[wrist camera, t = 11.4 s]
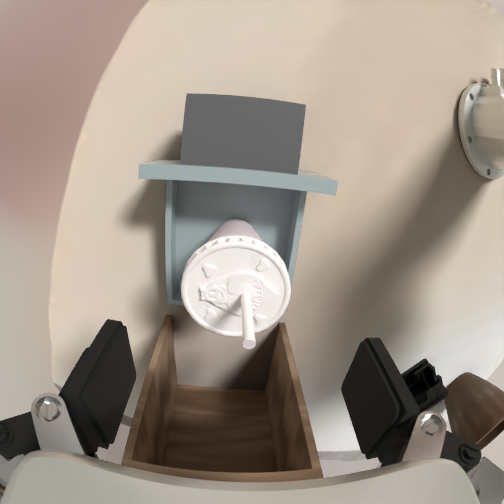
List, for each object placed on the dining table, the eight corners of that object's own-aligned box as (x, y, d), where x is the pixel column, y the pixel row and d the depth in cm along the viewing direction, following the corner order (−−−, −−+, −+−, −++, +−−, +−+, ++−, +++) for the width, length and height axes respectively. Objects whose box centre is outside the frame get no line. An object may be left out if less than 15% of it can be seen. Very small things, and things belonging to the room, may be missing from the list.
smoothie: (269, 272, 26) (298, 388, 13) (200, 271, 26) (173, 387, 13) (273, 204, 24) (320, 278, 11) (198, 202, 23) (154, 276, 10)
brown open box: (166, 314, 29) (119, 469, 12) (284, 322, 30) (323, 479, 13) (173, 386, 33) (153, 510, 16) (269, 392, 34) (286, 516, 17)
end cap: (385, 405, 39) (398, 434, 33) (375, 389, 37) (391, 420, 30) (432, 375, 37) (449, 400, 31) (428, 355, 35) (448, 382, 29)
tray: (166, 104, 21) (145, 93, 15) (321, 118, 22) (346, 112, 16) (160, 287, 27) (145, 321, 22) (293, 296, 28) (306, 332, 23)
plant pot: (488, 345, 37) (530, 393, 22) (476, 385, 42) (507, 429, 27) (433, 383, 38) (471, 444, 23) (426, 417, 44) (454, 468, 29)
